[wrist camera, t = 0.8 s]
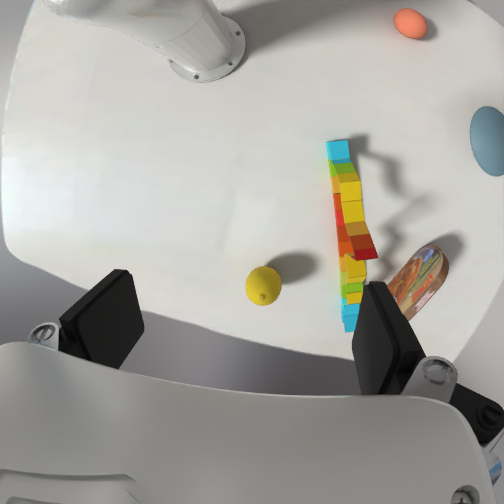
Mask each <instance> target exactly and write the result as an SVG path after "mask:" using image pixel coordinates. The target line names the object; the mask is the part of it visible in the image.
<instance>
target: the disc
mask: <svg viewBox="0 0 504 504" xmlns="http://www.w3.org/2000/svg"><path fill="white" fill-rule="evenodd" d="M470 140H471V146H472V150H473V153H474V156H475V158H476V160H477V162H478V164H479V165H480V167H481V168H482V169H483V170H484V171H485V172H486V173H488V174H490V175H492V176H501V175H503V174H504V115H503V114H502V113H501V112H499V111H498V110H497V109H495V108H493V107H482V108H480V109H479V110H478V111H477V112H476V113H475V114H474V116H473V118H472V122H471V127H470Z"/></svg>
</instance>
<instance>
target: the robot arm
mask: <svg viewBox="0 0 504 504" xmlns="http://www.w3.org/2000/svg"><path fill="white" fill-rule="evenodd" d="M43 2H44V3H45V5H46V6H47V8H48V9H49V10H50V11H52V12H53V13H54V14H56V15H57V16H59V17H61V18H63V19H66V20H69V21H73V22H76V23H80V24H86V25H94V26H101V27H107V28H111V29H115V30H118V31H120V32H123V33H125V34H127V35H129V36H131V37H133V38H135V39H137V40H138V41H140V42H142V43H143V44H145V45H147V46H149V47H150V48H152V49H154V50H156V51H157V52H159V53H161V54H162V55H164V56H166V57H167V59H168V63H169V65H170V67H171V69H172V70H173V72H174V73H176V74H177V75H178V76H179V77H181V78H183V79H185V80H188V81H191V82H199V83H204V82H211V81H214V80H217V79H219V78H221V77H224V76H225V75H227V74H228V73H230V72H231V71H232V70H233V69H234V68H235V67H236V66H237V65H238V64H239V62H240V61H241V59H242V57H243V55H244V52H245V48H246V40H245V36H244V33H243V31H242V29H241V28H240V26H239V25H238V24H237V23H236V22H234V21H233V20H231V19H230V18H227V17H224V16H222V15H221V14H220V12H219V10H218V9H217V7H216V5H215V4H214V2H213V1H212V0H43ZM238 34H240V35H238ZM237 35H238V36H237ZM230 64H233V65H231V66H230ZM197 77H199V78H198V79H197ZM59 320H60V323H61V325H62V327H61V328H60V329H59V327H58V325H56V324H55V323H52V322H47V323H43V324H40V325H39V326H37V327H35V328H34V329H33V330H32V331H31V332H30V334H29V337H28V343H26V342H13V343H12V342H11V343H6V344H3V345H1V346H0V504H504V410H503V409H502V407H501V406H500V405H499V404H498V403H496V402H494V401H492V400H490V399H488V398H486V397H484V396H482V395H480V394H478V393H476V392H474V391H472V390H470V389H468V388H466V387H464V386H462V385H460V384H458V383H456V382H457V377H458V373H457V370H456V368H455V366H454V365H453V364H452V363H451V362H450V361H448V360H446V359H445V358H442V357H439V356H429V357H426V355H425V353H424V351H423V349H422V347H421V345H420V343H419V341H418V339H417V337H416V335H415V333H414V331H413V329H412V328H411V326H410V324H409V322H408V320H407V318H406V317H405V315H403V314H402V312H401V310H400V308H399V306H398V304H397V303H396V301H395V299H394V297H393V296H392V294H391V292H390V290H389V289H388V287H387V285H386V283H385V282H374V281H370V282H369V284H368V285H365V286H364V288H363V294H362V299H361V304H360V309H359V313H358V318H357V322H356V327H355V331H354V335H353V339H352V351H353V356H354V360H355V365H356V370H357V374H358V379H359V384H360V389H361V394H362V396H296V395H275V394H261V393H249V392H239V391H230V390H222V389H215V388H208V387H201V386H195V385H188V384H183V383H177V382H172V381H166V380H162V379H157V378H152V377H148V376H143V375H139V374H135V373H131V372H127V371H123V370H119V367H120V366H121V365H122V363H123V361H124V360H125V359H126V357H127V356H128V354H129V353H130V351H131V350H132V348H133V347H134V346H135V344H136V343H137V341H138V340H139V338H140V337H141V336H142V334H143V332H144V323H143V319H142V315H141V311H140V307H139V303H138V299H137V294H136V290H135V285H134V281H133V277H132V275H131V274H130V273H129V272H128V271H127V270H121V269H115V270H113V271H112V272H111V273H110V274H108V275H107V276H106V277H105V278H104V279H102V280H101V281H100V282H99V283H98V284H97V285H95V286H94V287H93V288H92V289H91V290H90V291H89V292H88V293H86V294H85V295H84V296H83V297H82V298H81V299H80V300H79V301H77V302H76V303H75V304H74V305H73V306H72V307H71V308H70V309H69V310H67V311H66V312H65V313H64V314H63V315H62V316H61V317H60V318H59Z"/></svg>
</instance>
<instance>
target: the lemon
mask: <svg viewBox="0 0 504 504" xmlns="http://www.w3.org/2000/svg"><path fill="white" fill-rule="evenodd" d="M280 291H281V279H280V276H279V274H278V273H277V272H276V271H275V270H274V269H272V268H270V267H266V266H262V267H258V268H256V269H254V270H253V271H252V272H251V273H250V274H249V276H248V278H247V280H246V293H247V296H248V298H249V299H250V300H251V301H252V302H253V303H255V304H257V305H261V306H264V305H269V304H271V303H273V302H274V301H275V300H276V299H277V297H278V296H279V294H280Z"/></svg>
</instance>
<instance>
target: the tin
mask: <svg viewBox="0 0 504 504" xmlns="http://www.w3.org/2000/svg"><path fill="white" fill-rule="evenodd" d="M448 270H449V263H448V260H447V258H446V256H445V255H444V254H443V253H442V251H441V249H440V248H439V247H437V246H435V245H429V246H425V247H423V248H421V249H420V250H418V251H417V252H416V253H415V254H414V255H413V256H412V257H411V259H410V260H409V261H408V262H407V263H406V265H405V266H404V267H403V268H402V269H401V271H400V272H399V273H398V274H397V275H396V276H395V277H394V278H393V280H392V281H391V282H390V283H389V284H388V285H387V287H388V289H389V290H390V292H391V294H392V296H393V297H394V299H395V301H396V303H397V304H398V306H399V308H400V310H401V312H402V314H403V315H405V317H406V318H407V320H408V321H409V320H410V319H412V318H413V317H414V316H415V315H416V313H417V312H418V311H419V310H420V309H421V308H422V307H423V306H424V305H425V304H426V303H427V302H428V301H429V299H430V298H431V297H432V296H433V295H434V294H435V293H436V291H437V290H438V289H439V288H440V287H441V286H442V284H443V283H444V281H445V279H446V277H447V275H448Z"/></svg>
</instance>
